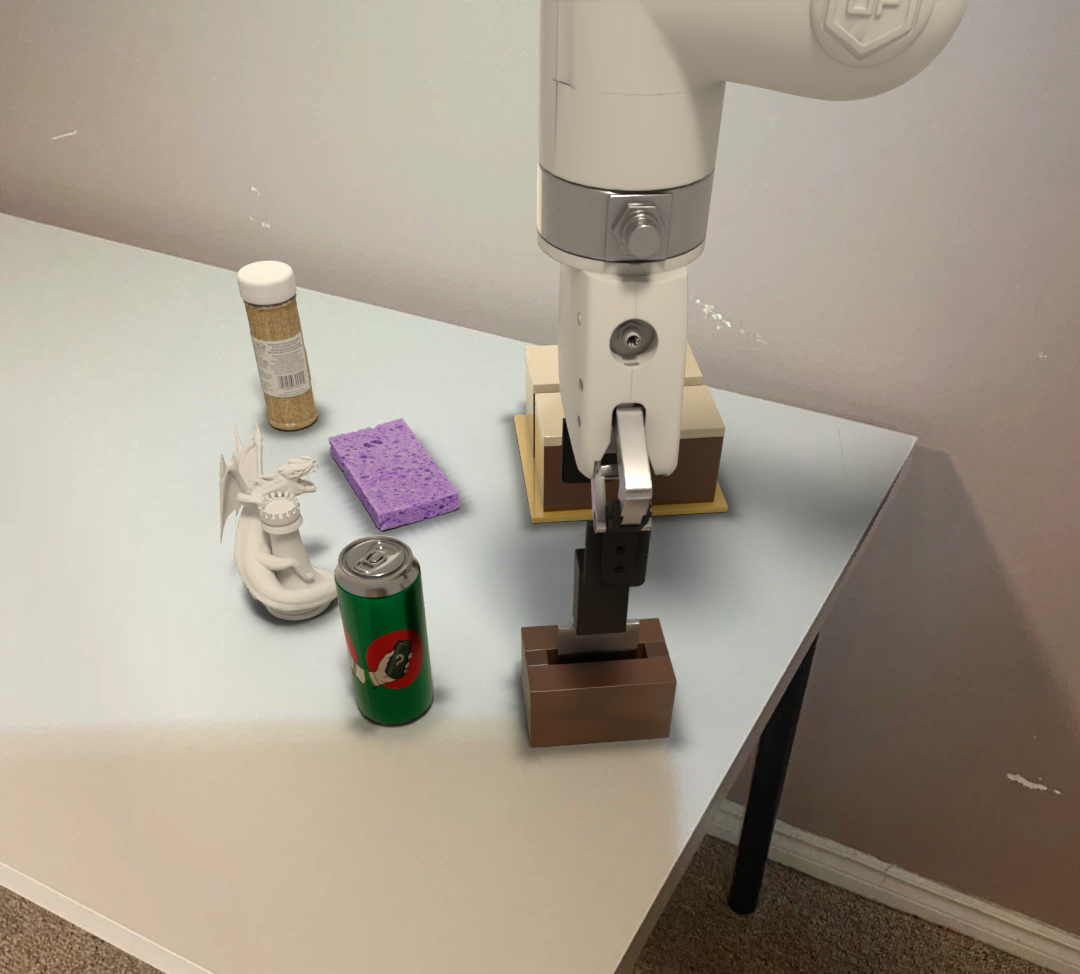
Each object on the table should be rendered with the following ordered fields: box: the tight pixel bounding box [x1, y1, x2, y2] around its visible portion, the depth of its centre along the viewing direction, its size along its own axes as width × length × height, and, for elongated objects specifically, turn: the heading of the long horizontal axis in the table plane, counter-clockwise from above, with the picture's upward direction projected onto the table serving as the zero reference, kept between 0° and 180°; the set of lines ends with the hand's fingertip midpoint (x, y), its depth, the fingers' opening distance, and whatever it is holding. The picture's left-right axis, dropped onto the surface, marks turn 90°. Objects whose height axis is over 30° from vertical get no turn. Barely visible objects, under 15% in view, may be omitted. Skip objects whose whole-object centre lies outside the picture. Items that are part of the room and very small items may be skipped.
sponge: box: [327, 417, 460, 531], centre depth 85 cm, size 7×13×2 cm, turn 26°
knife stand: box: [520, 617, 678, 748], centre depth 65 cm, size 9×6×5 cm, turn 96°
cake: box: [513, 340, 729, 524], centre depth 85 cm, size 16×16×7 cm
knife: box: [557, 547, 640, 665], centre depth 63 cm, size 5×2×12 cm, turn 96°
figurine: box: [219, 421, 338, 622], centre depth 72 cm, size 11×8×12 cm
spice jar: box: [236, 260, 318, 431], centre depth 87 cm, size 5×5×13 cm
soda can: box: [333, 534, 434, 725], centre depth 63 cm, size 5×5×12 cm
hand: (600, 529), depth 57 cm, fingers open, 9 cm apart
